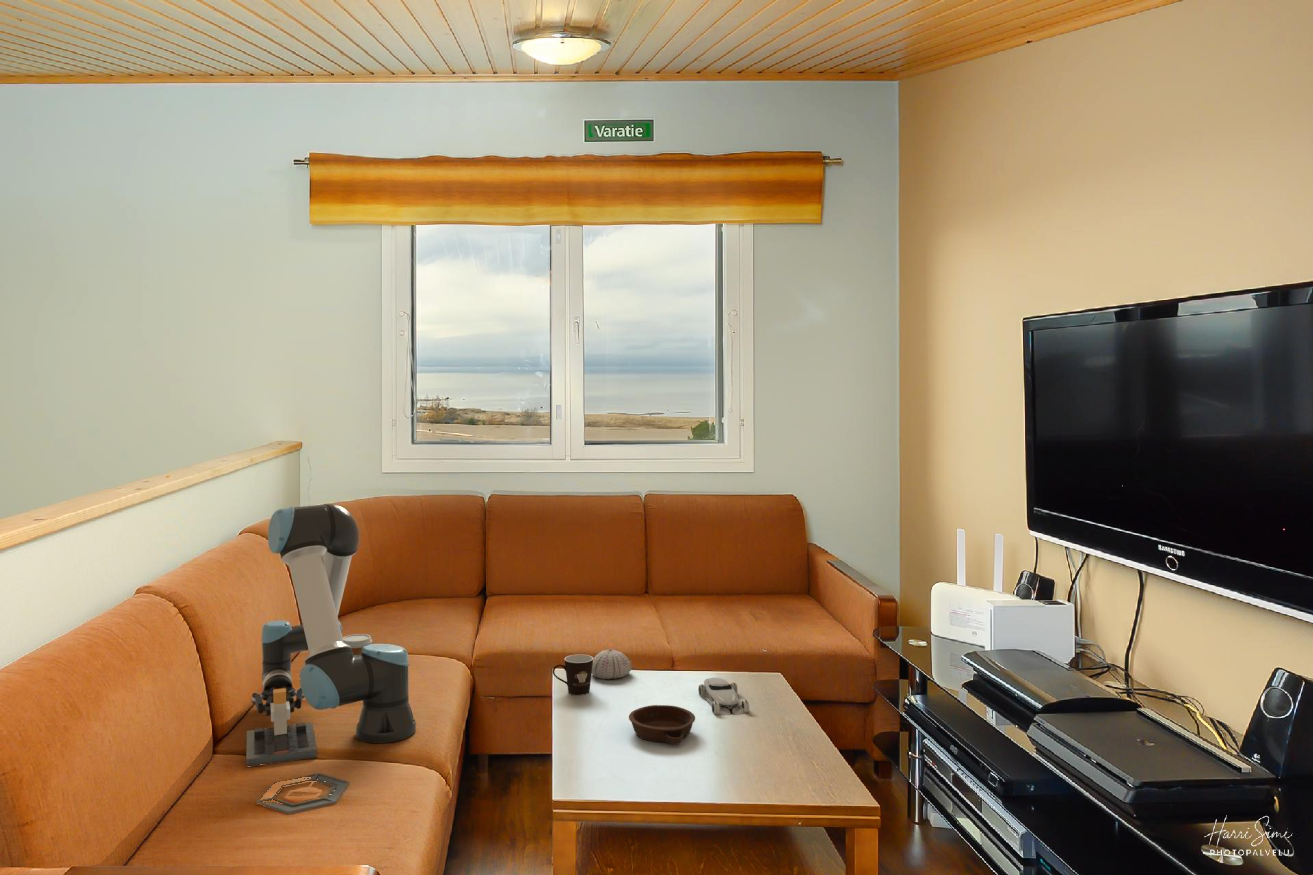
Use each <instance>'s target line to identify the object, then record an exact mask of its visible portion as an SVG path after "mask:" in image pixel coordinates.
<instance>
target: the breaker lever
mask: <svg viewBox="0 0 1313 875" xmlns="http://www.w3.org/2000/svg"><path fill="white" fill-rule="evenodd" d="M273 701H274V722H273V727H274V735H281V734H287V726H288V723H287V722H288V720H287V712H286V688H282V689H274V690H273Z"/></svg>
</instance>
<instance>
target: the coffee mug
mask: <svg viewBox="0 0 1313 875" xmlns="http://www.w3.org/2000/svg"><path fill="white" fill-rule="evenodd" d="M593 658H594V657H593V656H591V655H589V654H572V655H567V656H566V657H564V659H563V660H564V664H562V663H561V664H555V666H554V667H553V668H552V674H553V676H554V677H555V678H556V679H557V680H559V681H561V682H563V683H564V684H566V686H567V692H568V694H570V693H571V694H570V695H572V696H573V695H574V696H582V694H584V695H587V694H589V693H590V692H591V690H590V689H591V681H592V675H593V674H592V666H593ZM559 667H562V668H563V670H564V671H565V675H566V676H565V677H566V680H564V679H563V678H560V677H559V676H557V675H556V673H555V671H556V669H557V668H559ZM589 691H590V692H589ZM586 693H587V694H586Z"/></svg>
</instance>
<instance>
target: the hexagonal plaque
mask: <svg viewBox="0 0 1313 875" xmlns="http://www.w3.org/2000/svg"><path fill="white" fill-rule="evenodd" d="M302 777H311V779H309V778H307V779H309V780H305V781H317V782H319V783H318V784H320V783H322V784H321V785H323V784H326V785H325V786H327V785H328V786H327V787H330V786H332V787H331V788H330V789H329V791H328V792H327V793H326V795H325V796H324V797H320V799H312V800H307V801H303V802H298V803H291V802H288V801H284V800H283V799H282V800H278V799H279V798H274V797H275V796H276V794H278V792H279V791H280V790H281V788H283V786H286V785H292V784H298V783H302V782H305V781H300V782H295V783H290V784H286V785H282V786H281V788H280V789H279V790H278V791H277V792H276V794H275V795H274V796H273V797H272V798H268V799H263V800H260V799H261V798H262V797H263V795H264V794H265V793H266V792H267V790H269V788H271V786H272V785H273V784H275V783H277V782H280V781H287V780H292V779H298V778H302ZM304 779H305V778H304ZM317 779H318V780H317ZM324 781H326V782H324ZM349 785H350V781H348V780H347V779H346V780H345V779H341V778H337V777H334V776H331V775H327V774H323V773H319V772H315V773H312V774H307V775H302V776H297V777H293V778H288V779H283V780H278V781H273V782H272V783H271V784H270V785H269V786H268V787H267V789H266V790H265V791H264V792H263V793H262V794H261V796H259V798H258V799H257V800H256V801H255V802H256V803H260V804H261V805H265V806H266V807H265V808H267V807H270V808H272V809H271V810H274V809H276V810H275V811H276V812H281V813H283V812H285V813H284V814H286V813H287V814H286V815H289V814H290V813H291V814H295V813H294V812H296V813H300V812H304V811H308V810H307V809H309V810H313V809H316V808H317V807H318V808H321V807H326V806H330V805H334V804H337V803H338V802H339V800H340V798H341V797H342V796H343V794H344V793H343V792H345V791H346V790H347V788H348V787H349ZM347 786H348V787H347ZM283 789H284V788H283ZM345 789H346V790H345ZM334 790H335V791H334ZM329 794H332V795H329ZM278 795H279V794H278ZM341 795H342V796H341ZM340 796H341V797H340ZM339 797H340V798H339ZM272 799H273V800H275V801H278V802H280V803H283V804H280V803H279V804H277V803H276V802H275V803H274V802H264V803H262V802H263V801H269V800H270V801H271V800H272ZM338 799H339V800H338ZM256 803H255V804H256ZM266 803H268V804H266ZM270 803H272V804H270ZM261 805H260V806H261ZM270 808H269V809H270ZM318 808H317V809H318ZM278 810H279V811H278ZM303 810H304V811H303ZM299 811H300V812H299Z"/></svg>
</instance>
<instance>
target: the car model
mask: <svg viewBox="0 0 1313 875" xmlns="http://www.w3.org/2000/svg"><path fill="white" fill-rule="evenodd" d="M698 696H699V697H700V698H702V699H704V700H705V701H706V702H708V704H709V705H710V707H711V712H712V714H713V715H716V716H717V715H718V716H730V715H731V714H732V715H734V716H735V715H736V716H738V715H744V714H747V713H749V712H750V701H749V700H748V699H742V700H741V702H740V699H739V696H738V685H737V682H729V681H727V680H726V679H724V678H721V677H709V678H705V679H704V680H703V683H701V684H699V685H698Z"/></svg>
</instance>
